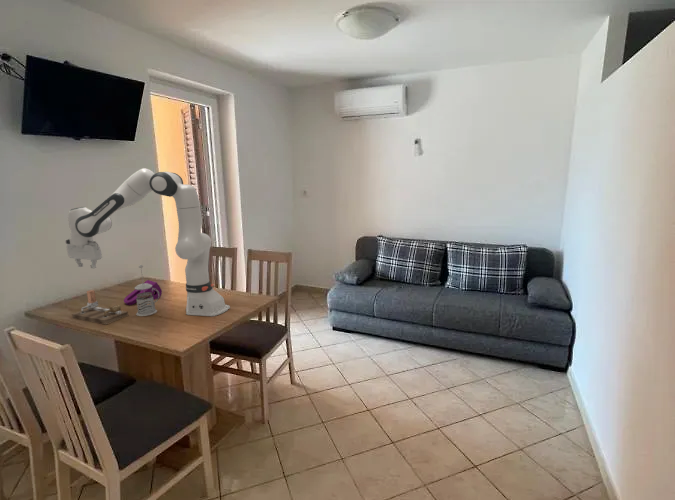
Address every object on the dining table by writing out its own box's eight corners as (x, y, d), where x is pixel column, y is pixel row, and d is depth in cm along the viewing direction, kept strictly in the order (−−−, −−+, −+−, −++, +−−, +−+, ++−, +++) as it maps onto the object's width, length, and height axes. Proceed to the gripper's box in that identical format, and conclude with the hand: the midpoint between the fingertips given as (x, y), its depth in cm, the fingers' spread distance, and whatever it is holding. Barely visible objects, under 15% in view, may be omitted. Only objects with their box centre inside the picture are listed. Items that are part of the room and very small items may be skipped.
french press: (137, 310, 197) (131, 263, 192) (161, 307, 201) (156, 261, 196) (134, 317, 188) (128, 268, 183) (160, 313, 192) (154, 265, 187)
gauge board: (128, 315, 190) (126, 304, 189) (106, 324, 180) (104, 313, 178) (95, 309, 199) (93, 299, 198) (72, 317, 188) (70, 307, 187)
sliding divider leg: (98, 307, 195) (95, 290, 193) (84, 312, 188) (81, 294, 186) (94, 306, 196) (91, 289, 194) (79, 311, 189) (76, 293, 188)
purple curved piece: (137, 315, 207) (164, 293, 219) (129, 303, 203) (156, 282, 214) (129, 311, 212) (155, 290, 224) (120, 300, 208) (147, 279, 219)
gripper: (103, 240, 186) (107, 267, 189) (75, 238, 194) (79, 264, 196) (90, 242, 180) (95, 270, 183) (62, 240, 188) (67, 267, 191)
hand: (87, 267), depth 190 cm, fingers open, 8 cm apart
